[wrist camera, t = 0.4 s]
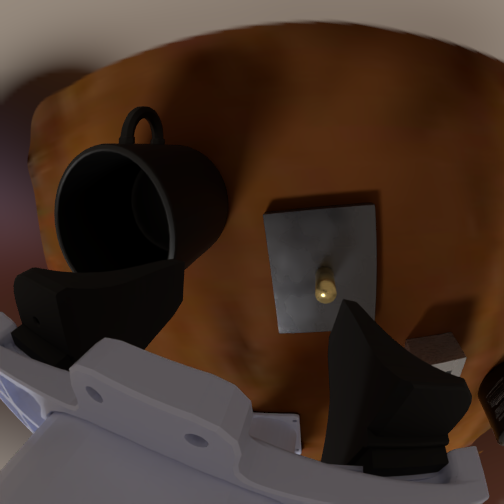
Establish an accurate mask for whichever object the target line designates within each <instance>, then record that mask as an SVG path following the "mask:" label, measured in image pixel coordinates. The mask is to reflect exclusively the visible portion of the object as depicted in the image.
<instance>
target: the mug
mask: <svg viewBox="0 0 504 504" xmlns="http://www.w3.org/2000/svg"><path fill="white" fill-rule="evenodd" d="M143 118H145V119H146V120H147V121H148V122H149V124H150V127H151V131H152V139H151V144H135V137H134V132H135V128H136V126H137V124H138V122H139V121H140V120H141V119H143ZM164 144H165V139H163V128H162V123H161V120H160V118H159V116H158V114H157V113H156V111H155V110H153V109H152V108H150V107H144V106H142V107H136V108H135V109H133V110H132V111H131V112H130V113H129V114H128V116H127V117H126V119H125V121H124V124H123V127H122V131H121V136H120V138H119V144H100V145H96V146H93V147H90V148H88V149H86V150H84V151H83V152H81V153H80V154H79V155H78V156H76V157H75V158H74V159H73V161H72V162H71V163H70V164H69V165H68V167H67V168H66V170H65V172H64V174H63V176H62V178H61V180H60V183H59V186H58V189H57V194H56V200H55V227H56V233H57V237H58V241H59V245H60V248H61V250H62V253H63V255H64V257H65V260H66V261H67V263H68V265H69V267H70V269H71V270H72V272H74V273H88V272H105V271H114V270H120V269H125V268H130V267H135V266H140V265H144V264H148V263H153V262H157V261H161V260H167V259H175V260H179V261H183V262H185V267H184V270H185V269H186V268H187V267H188V266H190V265H191V264H192V263H193V262H194V261H195V260H196V259H197V258H199V257H200V256H201V255H202V254H203V253H204V252H205V251H206V250H208V249H209V248H210V247H211V246H212V245H213V244H214V243H215V242H216V241H217V239H218V238H219V236H220V234H221V233H222V230H223V228H224V226H225V223H226V219H227V213H228V197H227V191H226V187H225V184H224V181H223V179H222V177H221V175H220V173H219V171H218V169H217V168H216V167H215V166H214V164H213V163H212V162H211V161H210V160H209V159H208V158H207V157H206V156H205V155H203V154H202V153H200V152H198V151H197V150H194V149H192V148H190V147H186V146H181V145H164Z"/></svg>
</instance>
